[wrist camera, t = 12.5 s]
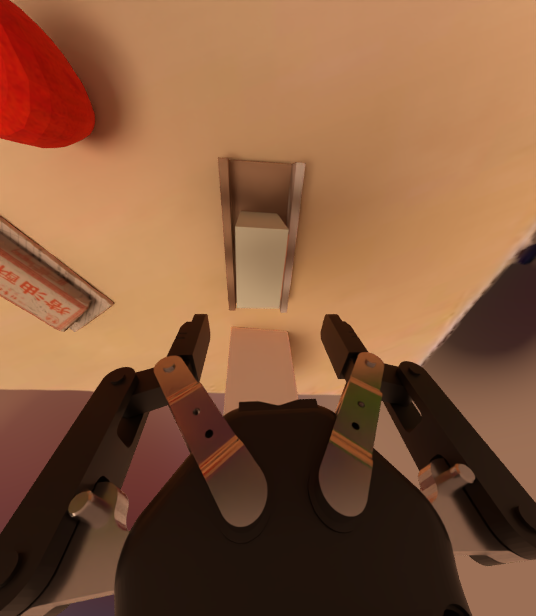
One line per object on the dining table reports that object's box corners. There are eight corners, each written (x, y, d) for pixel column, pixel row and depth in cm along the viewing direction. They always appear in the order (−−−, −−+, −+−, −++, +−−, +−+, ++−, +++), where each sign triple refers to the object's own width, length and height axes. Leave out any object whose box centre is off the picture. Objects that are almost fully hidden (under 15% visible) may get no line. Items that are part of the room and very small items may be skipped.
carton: (240, 211, 26) (235, 226, 18) (279, 213, 27) (291, 229, 18) (240, 273, 31) (236, 308, 23) (273, 274, 32) (281, 308, 23)
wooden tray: (220, 159, 24) (214, 156, 21) (299, 165, 25) (307, 163, 21) (229, 299, 35) (227, 312, 32) (284, 299, 36) (288, 312, 32)
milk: (276, 369, 47) (298, 533, 25) (228, 366, 45) (206, 540, 24) (287, 331, 40) (328, 508, 19) (231, 326, 39) (205, 515, 17)
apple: (136, 118, 21) (53, 75, 13) (91, 173, 24) (-5, 171, 15) (45, 4, 17) (-182, -186, 8) (1, 85, 20) (-211, 8, 11)
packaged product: (-95, 257, 24) (-59, 208, 21) (-45, 246, 28) (-10, 204, 25) (61, 345, 33) (99, 318, 30) (82, 327, 37) (117, 301, 34)
